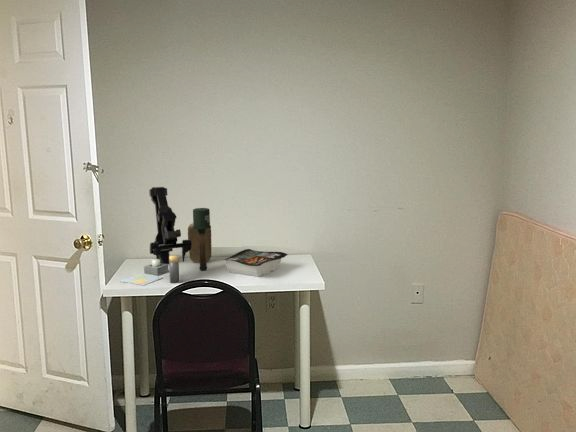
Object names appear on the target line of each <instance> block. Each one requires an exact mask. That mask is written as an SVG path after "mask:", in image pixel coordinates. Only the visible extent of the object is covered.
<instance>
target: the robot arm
mask: <svg viewBox="0 0 576 432" xmlns="http://www.w3.org/2000/svg"><path fill="white" fill-rule="evenodd" d="M148 191H149V192H148V193H149V197H150V200H151V202H152V203H153V204H154V209H155V218H156V230H157V233H156V235H155V238H154V241H153V242H150V243H149V254H151V255H153V256H155V259H160V263H162V264H168V265H169V256H171V255H170V253H171V252H173V251H174V250H173V249H181V250H182V251H181V258H182V262H185V259H186V255H187V253H189V251H190V250H191V247H192V241H191V240H190V239H189V240H188V239H183V240H182V241H181V242H180V243H177V242H178V238H181V236H182V233H181V229H180V228H179V229H175V225H176V219H178V218H177V215H176V213H175V212H173V210H172V207H170V206H169V205H168V204H169V203H168V200H167V196H168V188H167V187H165V186H155V187H154V186H153V187H152V186H151V188H150V189H149V190H148Z"/></svg>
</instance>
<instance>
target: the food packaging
mask: <svg viewBox="0 0 576 432" xmlns="http://www.w3.org/2000/svg"><path fill="white" fill-rule="evenodd" d="M288 255H289V253H285V252H282V251H258V250H253V249H250V248H246V249H243V250H240V251H238V252H236V253H234V254H232V255H230V256H229V257H227V258H223V259H222V261H225V266H226V269H227V271H228V273H232V274H237V275H244V276H249V277H255V278H256V277H257V278H260V277H262V276H265V275H267V274H269V273H271V272H274V271H276V270H278V269H279V268H280V266H281V262H282V259H284V258H285V257H287V256H288Z"/></svg>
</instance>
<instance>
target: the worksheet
mask: <svg viewBox="0 0 576 432" xmlns="http://www.w3.org/2000/svg"><path fill="white" fill-rule="evenodd" d="M162 279H163V277H161V276H156V275H150V274H141V273H138V274H135V275H133V276H130V277H127V278H124V279H122V280H119V282H120V283H126V284H131V285H136V286H137V285H139V286H144V287H145V286H146V285H149V284H151V283H155V282H156V281H159V280H162Z"/></svg>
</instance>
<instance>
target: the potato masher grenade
mask: <svg viewBox="0 0 576 432" xmlns="http://www.w3.org/2000/svg"><path fill="white" fill-rule="evenodd" d="M210 210H211V209H210V208H207V207H197V208H196V207H195V208H193V209H192V218H193V222H192V223H193V229H198V232H199V242H200V262H199V271H201V272H206V271H207V270H208V265H207V263H208V262H206V252H205V240H206V236H205V233H206V231H205V230H206V229H209V228H211V229H212V226H211V212H210Z"/></svg>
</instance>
